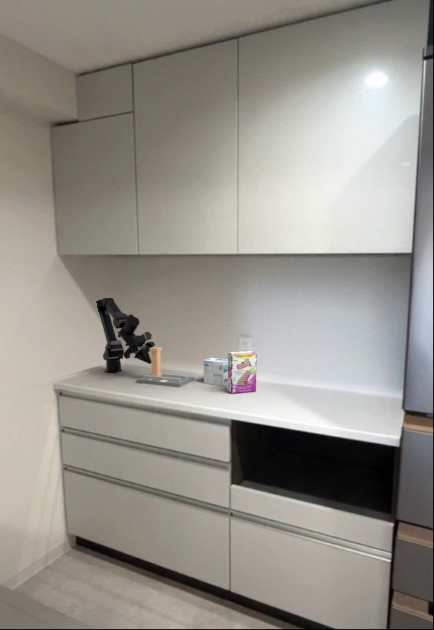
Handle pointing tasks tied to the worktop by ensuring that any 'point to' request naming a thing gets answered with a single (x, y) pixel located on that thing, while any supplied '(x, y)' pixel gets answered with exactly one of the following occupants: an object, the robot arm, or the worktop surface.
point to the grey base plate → (166, 380)
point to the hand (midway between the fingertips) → (150, 363)
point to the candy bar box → (242, 372)
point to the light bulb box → (216, 371)
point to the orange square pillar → (156, 361)
